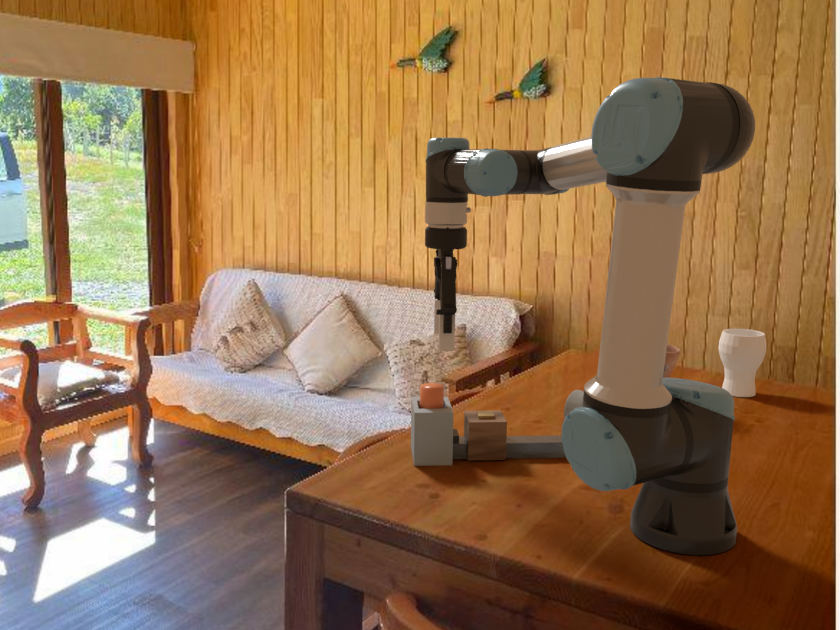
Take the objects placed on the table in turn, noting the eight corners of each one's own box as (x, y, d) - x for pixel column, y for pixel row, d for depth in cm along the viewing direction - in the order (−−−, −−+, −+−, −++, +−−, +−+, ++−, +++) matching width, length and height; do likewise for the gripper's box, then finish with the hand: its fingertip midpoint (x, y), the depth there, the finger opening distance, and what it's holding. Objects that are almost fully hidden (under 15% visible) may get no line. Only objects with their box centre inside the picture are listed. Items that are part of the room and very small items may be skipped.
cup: (709, 386, 204) (714, 327, 201) (752, 387, 203) (757, 328, 200) (723, 398, 193) (728, 336, 190) (768, 399, 193) (774, 337, 190)
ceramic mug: (596, 437, 165) (599, 400, 164) (561, 428, 170) (563, 392, 169) (622, 426, 173) (624, 391, 171) (588, 418, 178) (590, 383, 177)
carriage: (505, 459, 151) (507, 418, 150) (468, 460, 151) (469, 419, 149) (499, 446, 158) (500, 407, 156) (463, 447, 157) (464, 407, 156)
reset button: (444, 420, 150) (445, 389, 149) (420, 421, 150) (420, 389, 149) (442, 413, 155) (442, 382, 153) (418, 413, 154) (419, 383, 153)
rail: (577, 457, 154) (578, 434, 153) (450, 459, 152) (451, 436, 151) (572, 450, 157) (573, 427, 157) (448, 451, 156) (448, 429, 155)
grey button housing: (452, 465, 149) (453, 412, 147) (413, 465, 148) (414, 412, 147) (446, 446, 159) (447, 396, 157) (410, 446, 158) (411, 397, 156)
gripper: (474, 232, 134) (471, 358, 138) (460, 220, 158) (457, 327, 163) (429, 232, 134) (426, 358, 138) (421, 220, 158) (420, 327, 162)
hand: (443, 342), depth 150 cm, fingers open, 13 cm apart
